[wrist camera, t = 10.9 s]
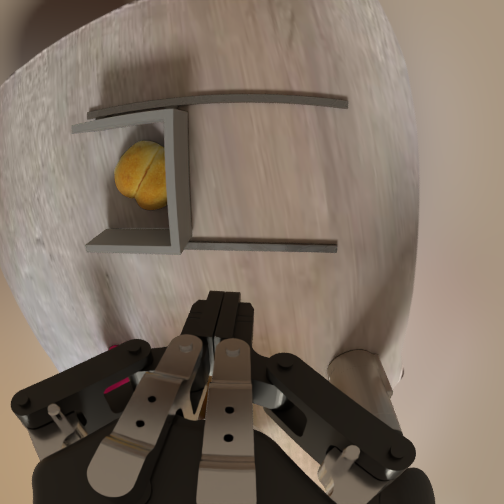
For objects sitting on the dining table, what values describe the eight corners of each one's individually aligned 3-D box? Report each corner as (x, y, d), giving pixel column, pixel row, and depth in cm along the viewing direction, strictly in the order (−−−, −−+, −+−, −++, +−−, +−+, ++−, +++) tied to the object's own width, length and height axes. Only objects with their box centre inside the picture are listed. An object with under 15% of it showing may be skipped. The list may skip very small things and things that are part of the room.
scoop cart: (188, 105, 31) (173, 100, 25) (193, 241, 38) (181, 262, 32) (98, 117, 31) (71, 118, 25) (109, 240, 38) (88, 258, 32)
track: (346, 101, 30) (348, 101, 29) (335, 251, 38) (336, 252, 37) (88, 112, 31) (87, 112, 30) (102, 246, 39) (100, 247, 38)
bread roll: (163, 217, 37) (153, 227, 33) (113, 181, 35) (99, 187, 31) (196, 166, 34) (188, 171, 30) (142, 129, 32) (129, 130, 28)
